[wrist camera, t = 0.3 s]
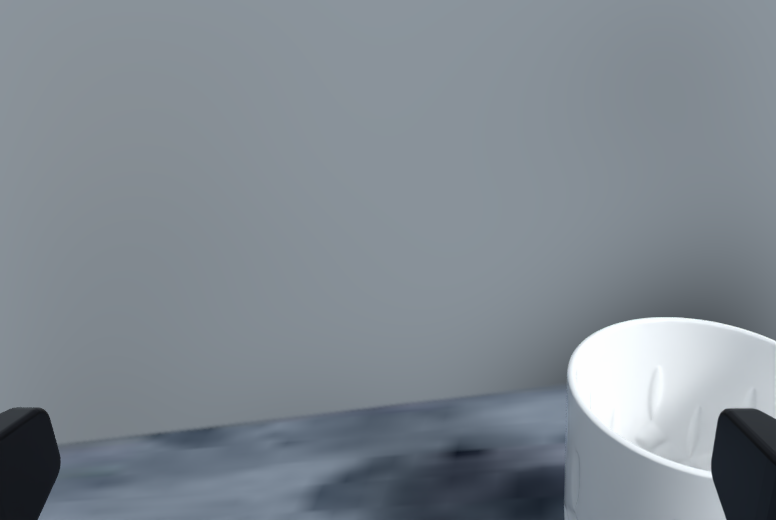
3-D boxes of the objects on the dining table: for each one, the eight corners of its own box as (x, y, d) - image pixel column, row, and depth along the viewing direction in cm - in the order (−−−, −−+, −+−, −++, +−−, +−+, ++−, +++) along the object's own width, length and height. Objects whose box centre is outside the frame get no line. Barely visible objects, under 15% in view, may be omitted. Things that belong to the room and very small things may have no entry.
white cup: (519, 539, 28) (530, 333, 23) (696, 506, 29) (739, 303, 24) (608, 743, 21) (648, 505, 16) (838, 690, 22) (934, 452, 17)
